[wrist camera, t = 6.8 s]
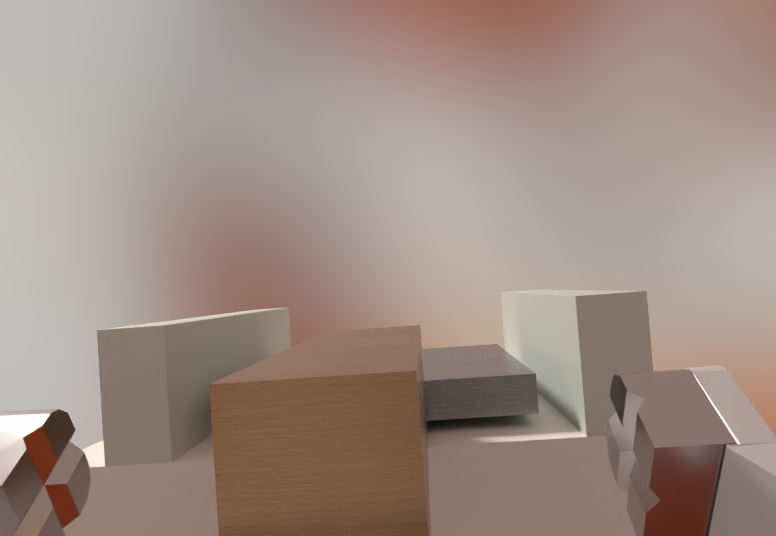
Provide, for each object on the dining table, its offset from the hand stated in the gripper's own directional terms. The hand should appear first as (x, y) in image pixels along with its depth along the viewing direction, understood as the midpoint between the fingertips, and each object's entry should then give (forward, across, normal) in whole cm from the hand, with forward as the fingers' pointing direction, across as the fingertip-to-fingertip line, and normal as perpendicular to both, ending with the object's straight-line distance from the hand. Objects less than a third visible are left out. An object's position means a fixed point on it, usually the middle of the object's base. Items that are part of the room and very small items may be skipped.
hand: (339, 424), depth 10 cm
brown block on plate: (+5, 0, +5) cm, 7 cm away
